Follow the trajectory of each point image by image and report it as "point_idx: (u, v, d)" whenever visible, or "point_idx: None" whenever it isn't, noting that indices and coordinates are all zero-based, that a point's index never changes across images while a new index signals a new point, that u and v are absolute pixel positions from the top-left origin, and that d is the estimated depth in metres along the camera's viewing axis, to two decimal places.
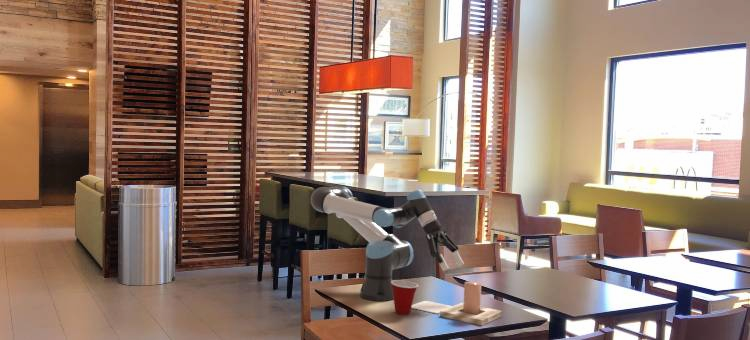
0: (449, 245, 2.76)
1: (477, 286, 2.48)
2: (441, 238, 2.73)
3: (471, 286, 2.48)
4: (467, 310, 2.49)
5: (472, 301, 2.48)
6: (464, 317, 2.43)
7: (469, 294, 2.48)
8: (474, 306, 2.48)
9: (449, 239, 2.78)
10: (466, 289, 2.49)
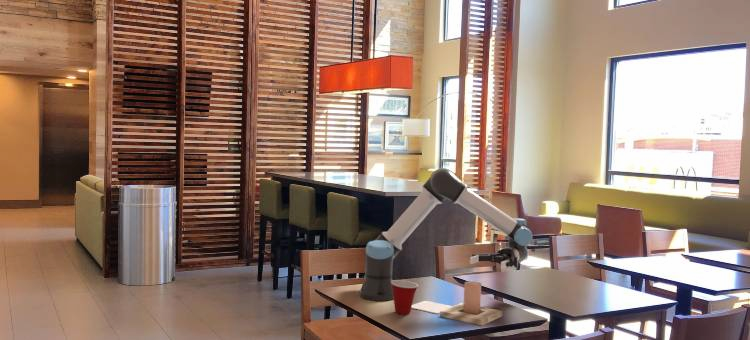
0: (484, 259, 2.70)
1: (477, 286, 2.48)
2: None
3: (471, 286, 2.48)
4: (467, 310, 2.49)
5: (472, 301, 2.48)
6: (464, 317, 2.43)
7: (469, 294, 2.48)
8: (474, 306, 2.48)
9: None
10: (466, 289, 2.49)
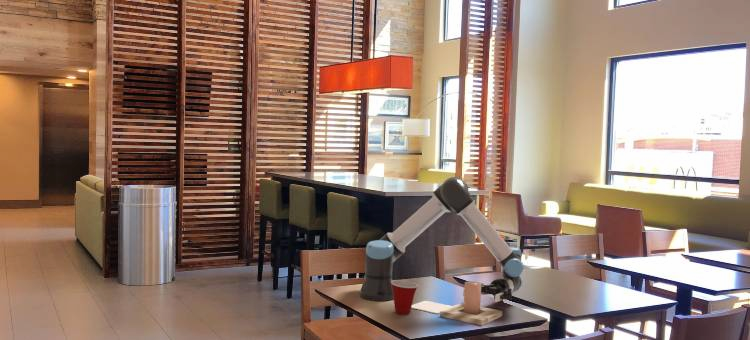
0: None
1: (477, 286, 2.48)
2: None
3: (471, 286, 2.48)
4: (467, 310, 2.49)
5: (472, 301, 2.48)
6: (464, 317, 2.43)
7: (469, 294, 2.48)
8: (474, 306, 2.48)
9: None
10: (466, 289, 2.49)
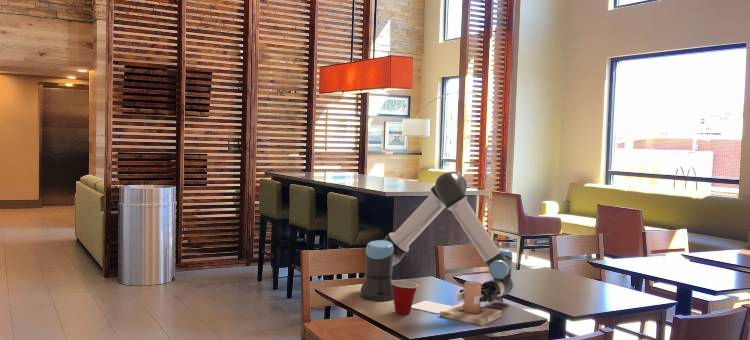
0: None
1: (477, 286, 2.48)
2: None
3: (471, 286, 2.48)
4: (467, 310, 2.49)
5: (472, 301, 2.48)
6: (464, 317, 2.43)
7: (469, 294, 2.48)
8: (474, 306, 2.48)
9: None
10: (466, 289, 2.49)
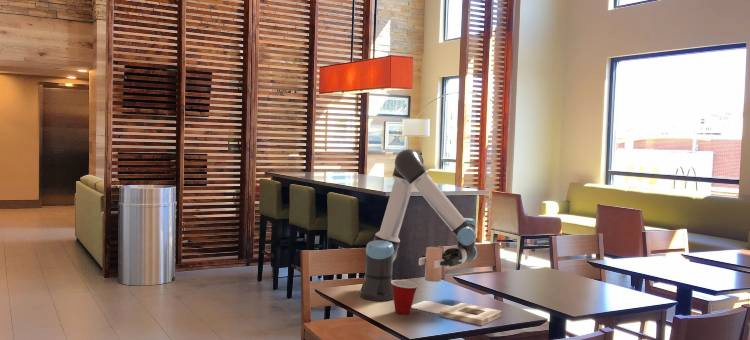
0: None
1: (438, 250, 2.58)
2: None
3: (432, 250, 2.58)
4: (429, 274, 2.58)
5: (433, 265, 2.58)
6: (464, 317, 2.43)
7: (430, 258, 2.58)
8: (435, 269, 2.58)
9: None
10: (427, 253, 2.59)
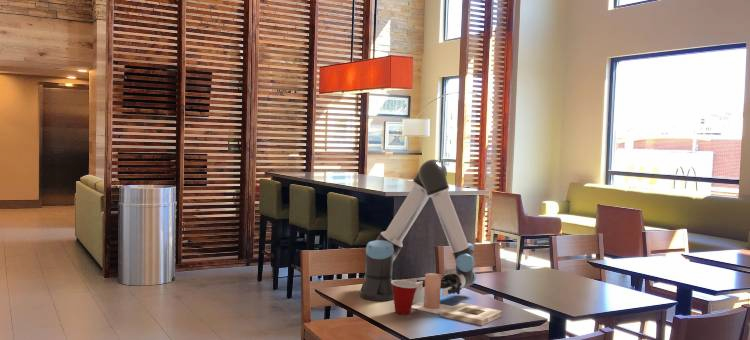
0: None
1: (437, 277, 2.58)
2: None
3: (431, 277, 2.58)
4: (427, 301, 2.59)
5: (432, 292, 2.58)
6: (464, 317, 2.43)
7: (429, 285, 2.59)
8: (434, 296, 2.58)
9: None
10: (426, 280, 2.60)
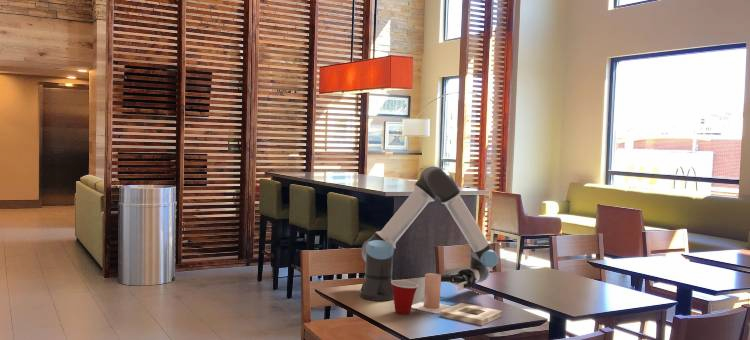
0: (445, 280, 2.80)
1: (437, 277, 2.58)
2: None
3: (431, 277, 2.58)
4: (427, 301, 2.59)
5: (432, 292, 2.58)
6: (464, 317, 2.43)
7: (429, 285, 2.59)
8: (434, 296, 2.58)
9: None
10: (426, 280, 2.60)
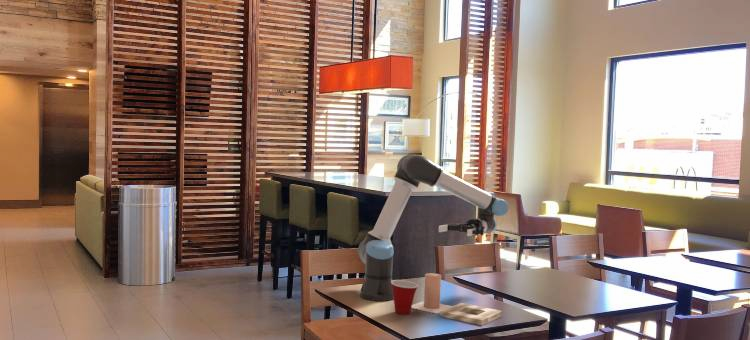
0: (453, 228, 2.84)
1: (437, 277, 2.58)
2: (466, 230, 2.84)
3: (431, 277, 2.58)
4: (427, 301, 2.59)
5: (432, 292, 2.58)
6: (464, 317, 2.43)
7: (429, 285, 2.59)
8: (434, 296, 2.58)
9: None
10: (426, 280, 2.60)
